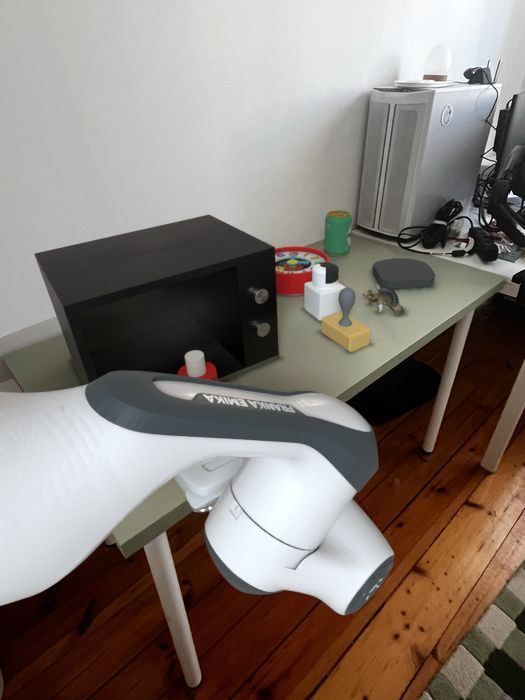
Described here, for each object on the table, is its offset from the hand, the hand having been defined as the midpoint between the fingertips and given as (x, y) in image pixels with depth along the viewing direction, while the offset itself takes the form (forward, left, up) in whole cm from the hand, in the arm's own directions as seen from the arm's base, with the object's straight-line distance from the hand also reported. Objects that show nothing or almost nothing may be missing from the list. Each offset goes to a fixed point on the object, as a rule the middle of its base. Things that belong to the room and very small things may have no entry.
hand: (222, 411), depth 61 cm
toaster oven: (+4, +32, -10) cm, 33 cm away
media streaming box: (+71, +30, -11) cm, 78 cm away
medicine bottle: (+42, +29, -11) cm, 52 cm away
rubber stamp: (+38, +16, -11) cm, 43 cm away
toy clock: (+47, +48, -11) cm, 68 cm away
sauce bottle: (0, +8, -10) cm, 13 cm away
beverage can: (+70, +56, -11) cm, 91 cm away
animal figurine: (+54, +21, -11) cm, 59 cm away
